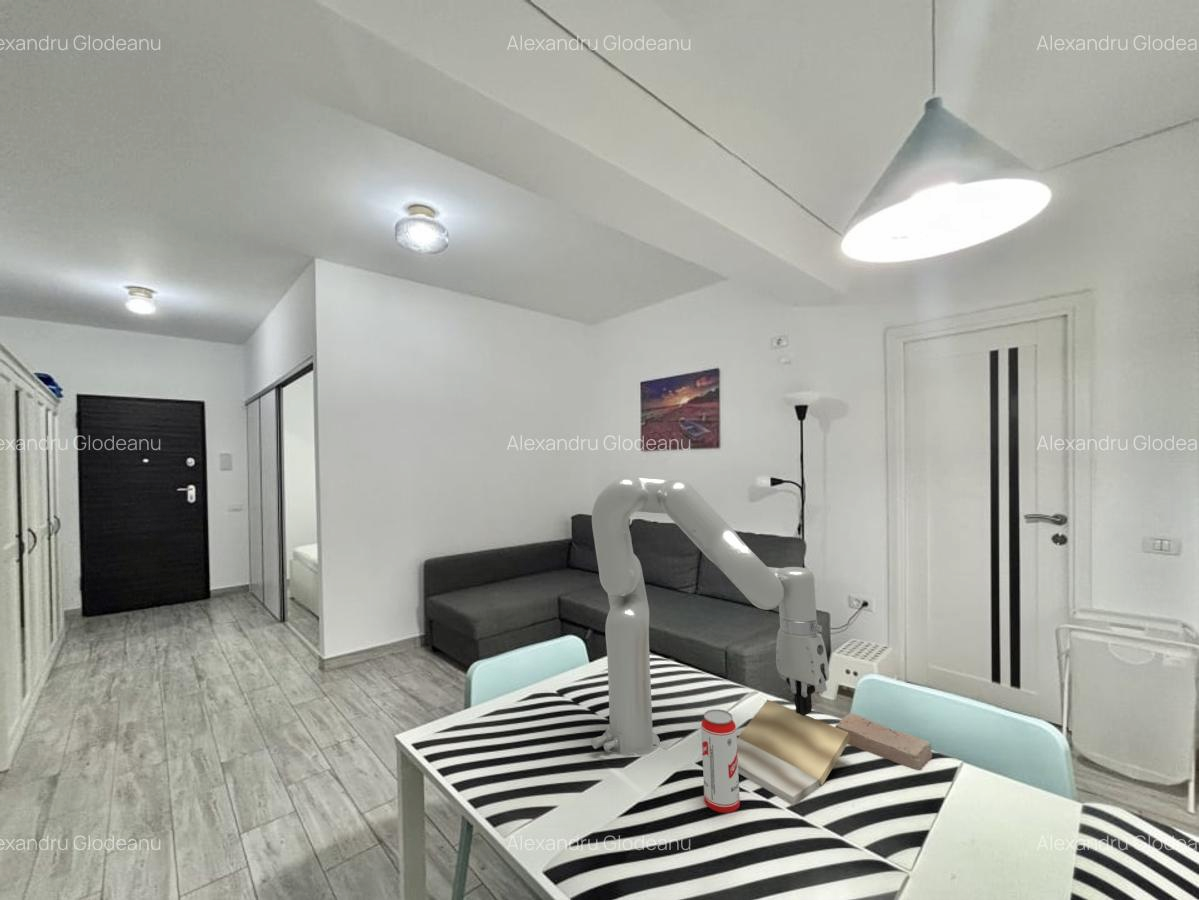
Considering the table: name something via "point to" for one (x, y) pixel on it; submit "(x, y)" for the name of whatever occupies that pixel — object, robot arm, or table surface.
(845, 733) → the oak plank
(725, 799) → the beer can
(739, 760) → the board
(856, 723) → the brick
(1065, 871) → the table surface
